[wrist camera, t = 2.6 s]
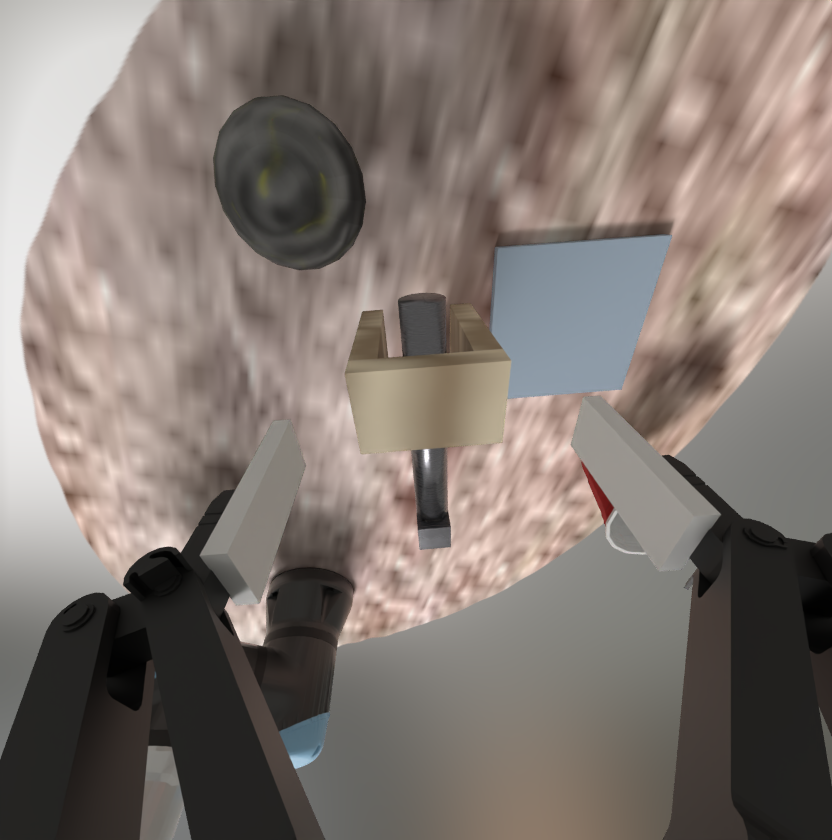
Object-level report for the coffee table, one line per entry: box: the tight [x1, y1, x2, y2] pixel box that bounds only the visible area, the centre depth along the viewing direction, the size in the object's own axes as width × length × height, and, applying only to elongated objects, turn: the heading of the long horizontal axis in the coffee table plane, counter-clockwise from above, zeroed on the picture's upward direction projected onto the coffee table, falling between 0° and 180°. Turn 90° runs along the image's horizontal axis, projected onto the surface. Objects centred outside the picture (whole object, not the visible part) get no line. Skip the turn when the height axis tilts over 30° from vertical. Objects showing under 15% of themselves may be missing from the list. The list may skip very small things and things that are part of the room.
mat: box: [489, 234, 672, 399], centre depth 35 cm, size 16×16×1 cm
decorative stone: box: [213, 96, 366, 270], centre depth 23 cm, size 10×10×10 cm
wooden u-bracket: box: [345, 303, 511, 454], centre depth 21 cm, size 8×5×10 cm, turn 93°
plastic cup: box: [582, 462, 646, 554], centre depth 41 cm, size 11×11×12 cm
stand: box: [398, 293, 451, 550], centre depth 29 cm, size 10×22×18 cm, turn 3°
